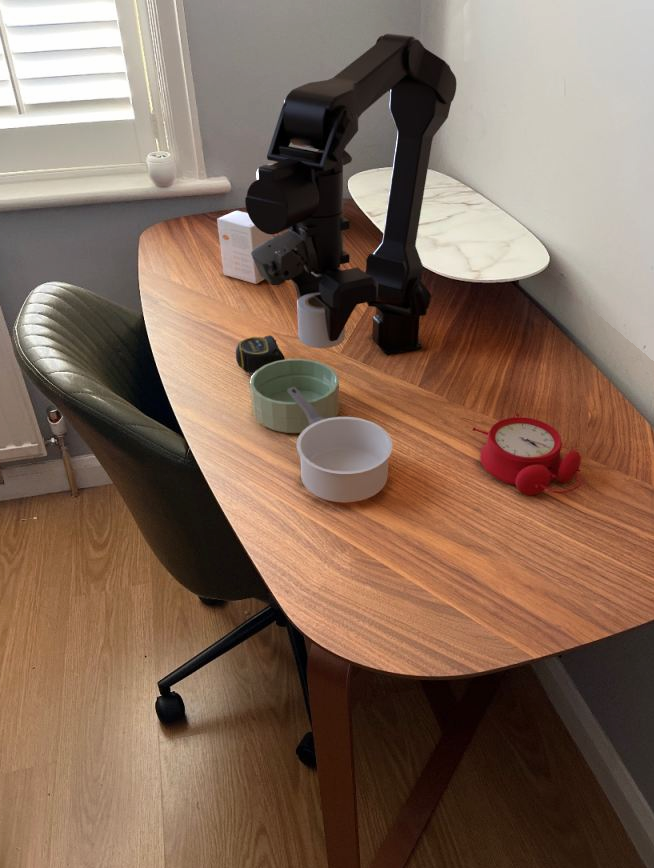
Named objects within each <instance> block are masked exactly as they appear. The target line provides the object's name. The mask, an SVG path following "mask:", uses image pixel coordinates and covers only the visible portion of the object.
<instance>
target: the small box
mask: <svg viewBox="0 0 654 868" xmlns="http://www.w3.org/2000/svg"><path fill="white" fill-rule="evenodd" d="M216 224H217V231H218V239H219V247H220V254H221V255H220V256H221V264H222V270H223V276H226V277H231V278H234V279H237V280H240V281H244V282H248V283H251V284H255V285H257V284H259V283H261V282H262V281H265V280H266V279H265V278H262V277H261V276H260V273H259V271H258V269H257V267H256V264H255V262H254V260H253V258H252V255H251V252H252V250H254V249H255V248H257V247H258V246H260V245H262V244H263V243H265V242H267V241H268V240H270V239H272V234H266V233H264V232H262V231H260V230H259V229H258V228H257V227H256V226H255V225H254V224H253V222H252V221H251V219H250V217H249V215H248V212H245V211H240V210H234V211H232V212H230V213H228V214H225V215H222V216H220V217H218V218H217V219H216Z"/></svg>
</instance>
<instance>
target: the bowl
mask: <svg viewBox="0 0 654 868" xmlns="http://www.w3.org/2000/svg"><path fill="white" fill-rule="evenodd" d="M291 387H296V389H297V390H298V391H299V392H300V393H301V394H302V395H303V396H304V397H305V398H306V400H307V401H308V402H309V403H310V404H311V405H312V406H313V407H314V408H315V409H316V411H317V412H318V413H319V414H320V416H321V417H323V418H325V419H328V418H333V417H338V414H339V412H340V377H339V375H338V373H337V372H336V371H335V369H334V368H332V367H330V366H329V365H327V364H326V363H323V362H320V361H317V360H313V359H306V358H287V359H286V358H285V360H280V361H275V362H272V363H269V364H267V365H264V366H263V367H261V368H260V369H258V370H256V372H255V373H252V375H251V377H250V381H249V390H250V399H251V409H252V414H253V417H254V418H255V420H256V422H258V423H259V424H260V425H262V426H263V427H265V428H268V429H270V430H272V431H276V432H279V433H283V434H301V433H302V431H303V430H304V429H306V428H307V427H308V426H310V424H309V421H308V419H307V416H306V414H305V412H304V411H303V410H302V409H301V407H300V406H299V405H298V404H297V403H296V402H295V400H294V399H293V398H292V397H291V396H290V394H289V393H288V392H287V389H288V388H291Z"/></svg>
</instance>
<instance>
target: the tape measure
mask: <svg viewBox="0 0 654 868" xmlns="http://www.w3.org/2000/svg"><path fill="white" fill-rule="evenodd" d="M235 359H236V363H237V365H238V367H239V368H240V369H241V370H242V371H244V372H246V373H249V374H254V373H255V372H256V370H258V369H260V368H261V367H263V366H264V365H267V364H269V363H272V362H275V361H280V360H286V358H285V356H284V353H283V352H282V351H281V349H280V348H279V346H278V343H277V339H275V337H274V336H272V335H265V336H263V337H261V336H252V337H247V338H244V339H243V340H241V341H239V343H238V344H237V346H236V348H235Z"/></svg>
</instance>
